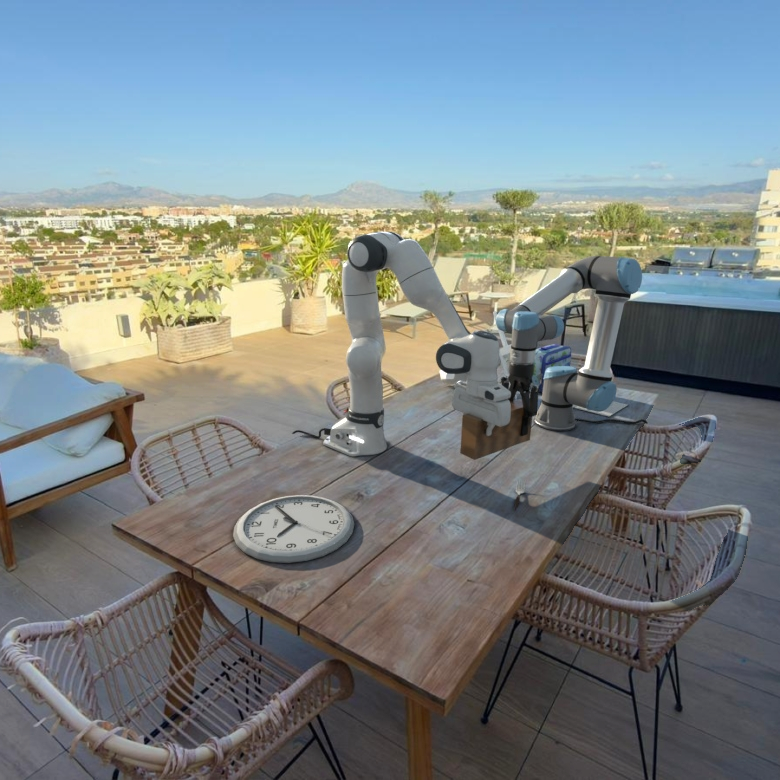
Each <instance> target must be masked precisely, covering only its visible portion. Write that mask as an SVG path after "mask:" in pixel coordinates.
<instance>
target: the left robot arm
mask: <svg viewBox="0 0 780 780" xmlns="http://www.w3.org/2000/svg"><path fill="white" fill-rule="evenodd" d="M346 256H347V260H346V261H345V262H344V263H343V265H342V268H341V292H342V300H343V308H344V317H345V321H346V324H347V326H348V330H349V334H350V338H351V344H350V345H349V347H348V348H347V351H346V356H345V361H346V368H347V376H348V382H349V406H348V407H347V408H346V409H343V414H346V415H345V417H343V418H341V419H340V420H339V421H337V422H336V423H334V422H330V423H329V424H328V425H326V426H325V427H322V428H320V429H319V431H318V435H316V434H313V433H311V432H306V431H304V430H301V429H296V430H294V431H292V432H291V434H292V435H295V434H296V433H299V434H304V435H306V436H307V435H308V436H309V437H312V438H314V439H320V438H321V437H322V432H323V435H326V436H327V437H326V438H324V440H323V441H322V442H323V444H322V445H323V446H325V447H327V448H330V449H332V450H335V451H338V452H339V453H342V454H344V455H347V456H348V457H359V456H372V455H377V454H381V453H384V451H386V450H387V448H388V445H387V444H388V443H387V441H386V437H385V430H384V424H385V408H384V385H383V376H382V361H383V358H384V357H385V355H386V349H387V348H386V341H385V335H384V330H383V324H382V320H381V313H380V312H381V311H380V305H379V295H378V294H379V293H378V287H377V285H378V284H377V277H378V274H379V273H380V271H382V272H384V271H387V270H390V271H391V272H392V273H393V274H394V276H395V278H396V280H397V283H398V285H399V287H400V289H401V291H402V293H403V295H404V297H405V298H406V299H407V301H408V302H409V304H411V305H413V306H415V307H417V308H421V309H424V310H425V311H427V312H429V313H430V314H432V315H434V316H435V318H436V319H437V321H438V323H439V325H440V326H441V328H442V330H443V332H444V333H445V336H446V337H447V339H448V341H447V342H445V343H443V344H442V345H440V346H439V348H437V351H436V352H435V362H436V365H437V367H438V369H440V370H442V371H443V372H445V373H448V374H462V373H466V374H467V382H464V381H458V382H457V383H456V384H454V386H455V387H454V391H453V395H452V403H451V405H452V408H453V410H455V411H457V412H460V413H463V414H462V416H463V415H465V414H471V415H473V416H476V417H478V418H481V419H483V420H484V421H486V422H487V425H489V426H488V428H487V429H484V435H487V436H490V435H491V434H492V429H493V428H494V426H495V425H497V426H499V427H502V426H505V425H507V424H508V423H509V422H510V416H511V404H510V401H509V400H508V398H510V397H511V392H510V391H509V390H508V389H506V388H505V387H504V386H503V385H502V384H501V383H500V382H499V381H498V378H499V376H498V368H499V367H498V365H499V349H500V341H499V339H498V337H497V336H496V335H495V334H493V333H491V332H490V331H489V332H488V331H484V330H475V331H472V332H470V330H469V329H468V328H467V327H466V325H465V323H464V321H463V320H462V318H461V315H460V314H459V313H458V310H457V309H456V307H455V305H454V303H453V302H452V301H451V299H450V296H448V294H447V292H446V290H445V288H444V287H443V285H442V283H441V280H440V279H439V276H438V274H437V272H436V270H435V268H434V266H433V264H432V262H431V260H430V259H429V257H428V255H427V254H426V252H425V250H424V249H423V248H422V246H421V245H420V244H419V242H418V241H416V240H415V239H410V238H407V239H404V238H403V236H401V235H400V234H398V233H396V232H393V231H375V232H372V233H367V234H361V235H358V236H356V237H355V238H353V239H352V240H350V242H349V243H348V246H347V249H346Z"/></svg>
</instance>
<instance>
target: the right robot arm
mask: <svg viewBox="0 0 780 780" xmlns="http://www.w3.org/2000/svg"><path fill="white" fill-rule="evenodd" d="M642 281H643V269H642V267H641V265H640V262H639V261H638V260H637V259H636V258H631V257H625V256H602V255H592V256H587V257H585V258H582V259H579V260H577V261H576V262H574V263H572V264H570V265H568V266H567V267H565V268H564V269H562V270H561V272H560V273H559V275H558V276H557V277H556V278H554V279H552V280H551V281H550V282H549V283H548V284H546V285H545V286H543V287H542V288H541V289H539V290H538V291H537V292H534V294H532V295H530V296H529V297H528V298H526V299H525V300H524V301H523V302H521V303H520V304H518V305H517V306H515V307H513V308H512V309H511V308H504V309H500V311H499V312H497V314H498V315H497V317H496V321H495V324H496V325H495V326H496V328H497V327H498V328H497V330H498V329H499V330H501V331H504V333H507V334H511V343H510V344H511V352H510V360H509V363H508V368H509V374H510V375H509V376H505V375H504V376H501V377H500V382H501V383H500V384H501V385H503V386H504V387H505V388H506V389H508V390H509V391H510V392H511V397H510V398H508V400H509V401H514V400H515V395H517V392H519V395H520V397H521V400H522V403H523V409H524V416H522V423H521V433H520V436H524V435H527V434H528V426H530V424H531V417H532V418H533V417H534V424H535V425H536V426H537V427H539V428H542V429H544V430H549V431H556V432H567V431H572V430H574V429H575V428H576V422H581V423H586V424H601V423H609V422H611V423H620V424H626V425H637V424H639V423H644V424H646V425H647V424H648V421H647V420H646V419H643V418H641V419H638V420H635V421H630V420H628V421H627V420H621V419H614V418H613V419H612V418H606V419H600V420H589V419H585V418H584V419H582V418H577V417H576V416H575V413H574V407H573V406H575V407H576V406H580V407H583V408H586V409H588V410H593V411H597V412H601V411H604V410H605V409H607V408H608V407H609V406H610V405H611V403H612V402H613V401H614V400H615V398H616V395H617V391H618V390H617V389H618V388H617V384H616V383H614V381H612V380H613V374H612V373H611V372H610V371H611V370H610V369H611V365H612V360H613V356H614V352H615V346H616V342H617V338H618V333H619V329H620V324H621V320H622V315H623V312H624V306H625V303H627V302H628V301H629V300H631V297H632V295H634V294H636V293H637V292H639V289H640V288H641V286H642ZM582 290H595V292H594V296H595V298H596V300H597V304H596V308H595V313H594V318H593V323H592V327H591V333H590V337H589V341H588V347H587V351H586V356H585V360H584V364H583V366H582V367H581V368H580V369H578V368H577V367H576V366H571V365H570V366H555V367H549V368H547V369H546V371H545V375H544V378H543V379H544V381H543V391H542V393H541V402H540V405H539V393H540V392H539V389H540V385H535V384H534V383H533V381H532V376H533V372H534V364H533V363H534V362H535V353H536V349H537V343H538V342H543V341H549V340H550V341H551V340H554V339H557V338H559V337H561V335H563V333H564V330H565V323H564V321H563V319H562V318H561V317H560V316H559V315H556V314H553V315H552V314H548V315H544V314H546V313H547V312H549V311H551V309H553V308H554V307H555V306H557V305H558V304H560V303H561V302H562V301H564V300H565V299H566V298H568V297H569V296H570V295H572V294H578V293H579V292H580V291H582ZM509 382H510V384H511V385H510V388H509ZM530 387H531V389H529V388H530ZM525 391H526V392H525ZM529 394H530V395H529ZM575 417H576V418H575Z"/></svg>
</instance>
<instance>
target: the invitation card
mask: <svg viewBox="0 0 780 780" xmlns="http://www.w3.org/2000/svg"><path fill="white" fill-rule="evenodd" d="M628 406H629V404H627V403H623V402H618V401H614V400H613V402H612V403H611V405H610V406H609V407H608V408H607V409H605V410H604V411H601V412H597V411H593V410H588V409H586V408H583V407H580V406H576V405H575V406H574V407H573V409H575V410H581V411H584V412H587V413H593V414H596V415H600V416H604V417H608V418H609V417H611V416H613V415H614V414H616V413H617V412H619V411H621V410H623V409H624V408H626V407H628Z"/></svg>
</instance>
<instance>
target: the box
mask: <svg viewBox="0 0 780 780" xmlns="http://www.w3.org/2000/svg"><path fill="white" fill-rule="evenodd" d="M510 404H511V416H510V422H509V423H508V424H507V425H505V426H502V427H499V426H497V425H495V426H494V428H493V429H492V434H491V435H490V436H487V435H484V429H487V428H488V426H489V425H487V422H486V421H484V420H483V419H481V418H478V417H476V416H473V415H471V414H465V415H463V414H462V418H461V420H462V421H461V434H460V448H459V449H460V450H459V453H460V454H461V455H462V456H463V455H464V456H465V457H467V458H470V459H472V460H474V461H476V460H479V459H481V458H485V457H486V456H487V457H488V456H490V455H492V454H496V453H498V452H500V451H503V450H506V449H508V448H511V447H515V446H517V445H519V444H523V443H526V442H528V441H530V440H531V434H532V423H533V416H532V417H531V424H530V426H528V434H527V435H524V436H520V433H521V423H522V416H524V409H523V403H522V399H520V398H518V399H517V398H516V399H514V400H513V401H510Z"/></svg>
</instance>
